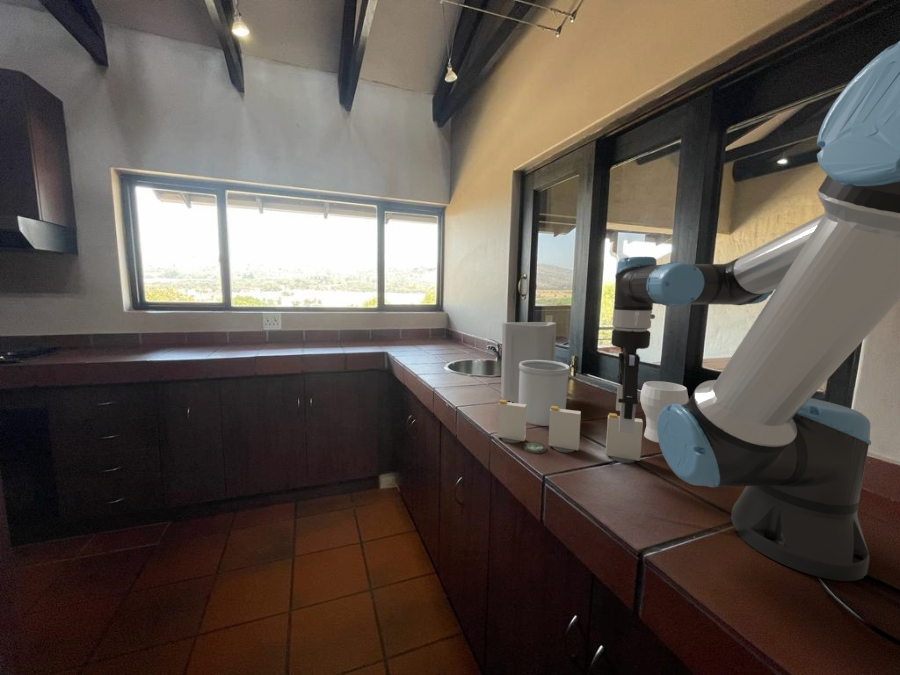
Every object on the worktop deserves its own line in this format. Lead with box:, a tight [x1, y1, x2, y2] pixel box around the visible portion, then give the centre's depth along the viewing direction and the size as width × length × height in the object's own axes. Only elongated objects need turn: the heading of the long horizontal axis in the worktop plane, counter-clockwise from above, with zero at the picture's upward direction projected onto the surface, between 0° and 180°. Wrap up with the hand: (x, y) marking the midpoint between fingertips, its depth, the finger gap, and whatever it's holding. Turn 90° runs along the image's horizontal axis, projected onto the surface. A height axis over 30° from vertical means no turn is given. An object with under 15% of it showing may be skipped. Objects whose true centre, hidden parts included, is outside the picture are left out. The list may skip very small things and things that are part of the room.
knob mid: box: [548, 406, 582, 454], centre depth 84 cm, size 5×7×10 cm
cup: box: [639, 380, 690, 444], centre depth 90 cm, size 11×11×15 cm
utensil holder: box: [519, 360, 571, 427], centre depth 105 cm, size 15×15×18 cm
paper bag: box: [500, 321, 557, 403], centre depth 122 cm, size 19×15×28 cm
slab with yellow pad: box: [605, 412, 644, 464], centre depth 79 cm, size 5×7×10 cm
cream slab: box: [496, 398, 527, 444], centre depth 89 cm, size 5×7×10 cm
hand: (623, 420), depth 79 cm, fingers open, 13 cm apart
